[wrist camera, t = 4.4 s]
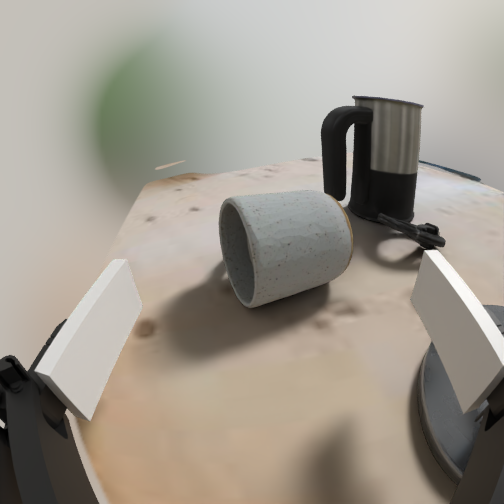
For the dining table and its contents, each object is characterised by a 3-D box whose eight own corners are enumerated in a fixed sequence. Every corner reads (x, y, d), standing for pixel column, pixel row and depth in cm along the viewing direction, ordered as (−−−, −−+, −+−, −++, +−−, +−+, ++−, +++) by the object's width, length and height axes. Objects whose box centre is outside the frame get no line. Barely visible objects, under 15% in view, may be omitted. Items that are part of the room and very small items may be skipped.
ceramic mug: (354, 292, 21) (366, 196, 17) (258, 331, 18) (249, 221, 14) (287, 239, 29) (285, 166, 26) (211, 259, 27) (200, 180, 23)
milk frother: (372, 195, 40) (376, 99, 33) (464, 231, 28) (480, 117, 21) (308, 218, 33) (306, 92, 26) (425, 273, 22) (450, 103, 14)
